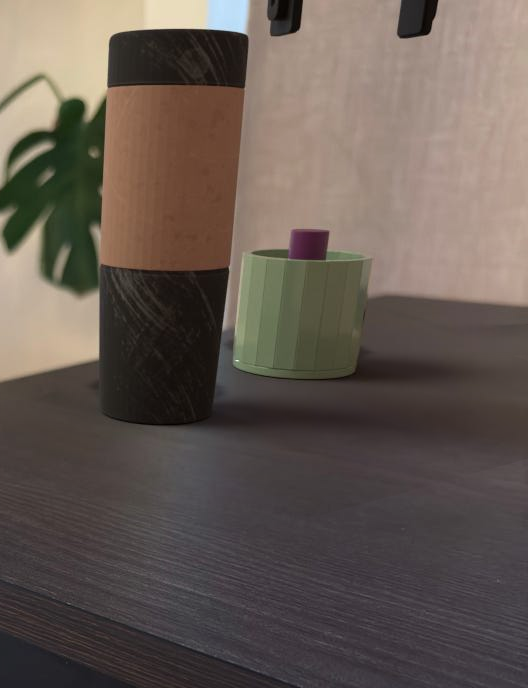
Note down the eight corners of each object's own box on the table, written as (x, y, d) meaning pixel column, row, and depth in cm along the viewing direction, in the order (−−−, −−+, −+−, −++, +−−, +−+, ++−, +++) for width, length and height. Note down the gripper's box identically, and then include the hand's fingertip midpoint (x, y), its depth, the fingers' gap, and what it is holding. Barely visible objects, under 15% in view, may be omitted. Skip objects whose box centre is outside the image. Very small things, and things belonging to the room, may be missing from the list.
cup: (318, 353, 77) (333, 247, 74) (379, 376, 69) (398, 259, 66) (213, 357, 75) (223, 248, 72) (263, 381, 67) (277, 261, 64)
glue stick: (302, 354, 74) (318, 228, 69) (318, 361, 71) (336, 231, 67) (270, 355, 73) (284, 228, 69) (285, 362, 71) (302, 231, 66)
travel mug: (241, 415, 59) (282, 35, 50) (147, 432, 55) (171, 24, 46) (161, 391, 64) (184, 46, 55) (70, 405, 61) (78, 37, 51)
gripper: (477, -270, 61) (429, 42, 69) (229, -294, 57) (209, 39, 65) (560, -319, 55) (496, 32, 63) (285, -349, 51) (255, 27, 59)
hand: (349, 35), depth 64 cm, fingers open, 9 cm apart
